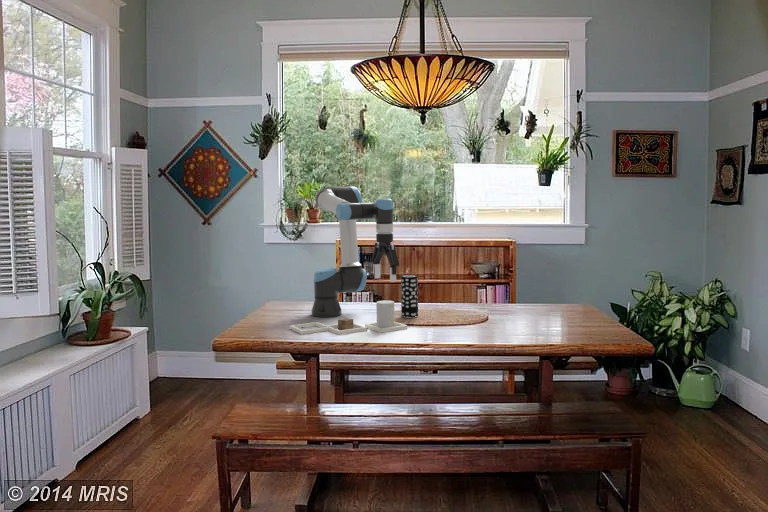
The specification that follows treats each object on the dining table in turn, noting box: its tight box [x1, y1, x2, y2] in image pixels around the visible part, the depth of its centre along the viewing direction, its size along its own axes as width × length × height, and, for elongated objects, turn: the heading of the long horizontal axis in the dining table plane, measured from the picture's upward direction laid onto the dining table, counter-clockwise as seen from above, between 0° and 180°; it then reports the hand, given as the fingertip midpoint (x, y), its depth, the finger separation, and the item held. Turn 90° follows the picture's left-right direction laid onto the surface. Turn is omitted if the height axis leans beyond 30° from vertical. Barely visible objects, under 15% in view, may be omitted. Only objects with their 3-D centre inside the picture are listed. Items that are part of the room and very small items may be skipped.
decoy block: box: [337, 317, 355, 330], centre depth 305 cm, size 5×5×5 cm
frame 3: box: [364, 321, 408, 333], centre depth 308 cm, size 14×14×2 cm
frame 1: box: [289, 321, 330, 335], centre depth 307 cm, size 14×14×2 cm
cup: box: [376, 300, 396, 329], centre depth 308 cm, size 8×8×12 cm
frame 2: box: [325, 322, 368, 335], centre depth 305 cm, size 14×14×2 cm
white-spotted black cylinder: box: [400, 274, 419, 318], centre depth 334 cm, size 8×8×20 cm
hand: (385, 280), depth 306 cm, fingers open, 13 cm apart
